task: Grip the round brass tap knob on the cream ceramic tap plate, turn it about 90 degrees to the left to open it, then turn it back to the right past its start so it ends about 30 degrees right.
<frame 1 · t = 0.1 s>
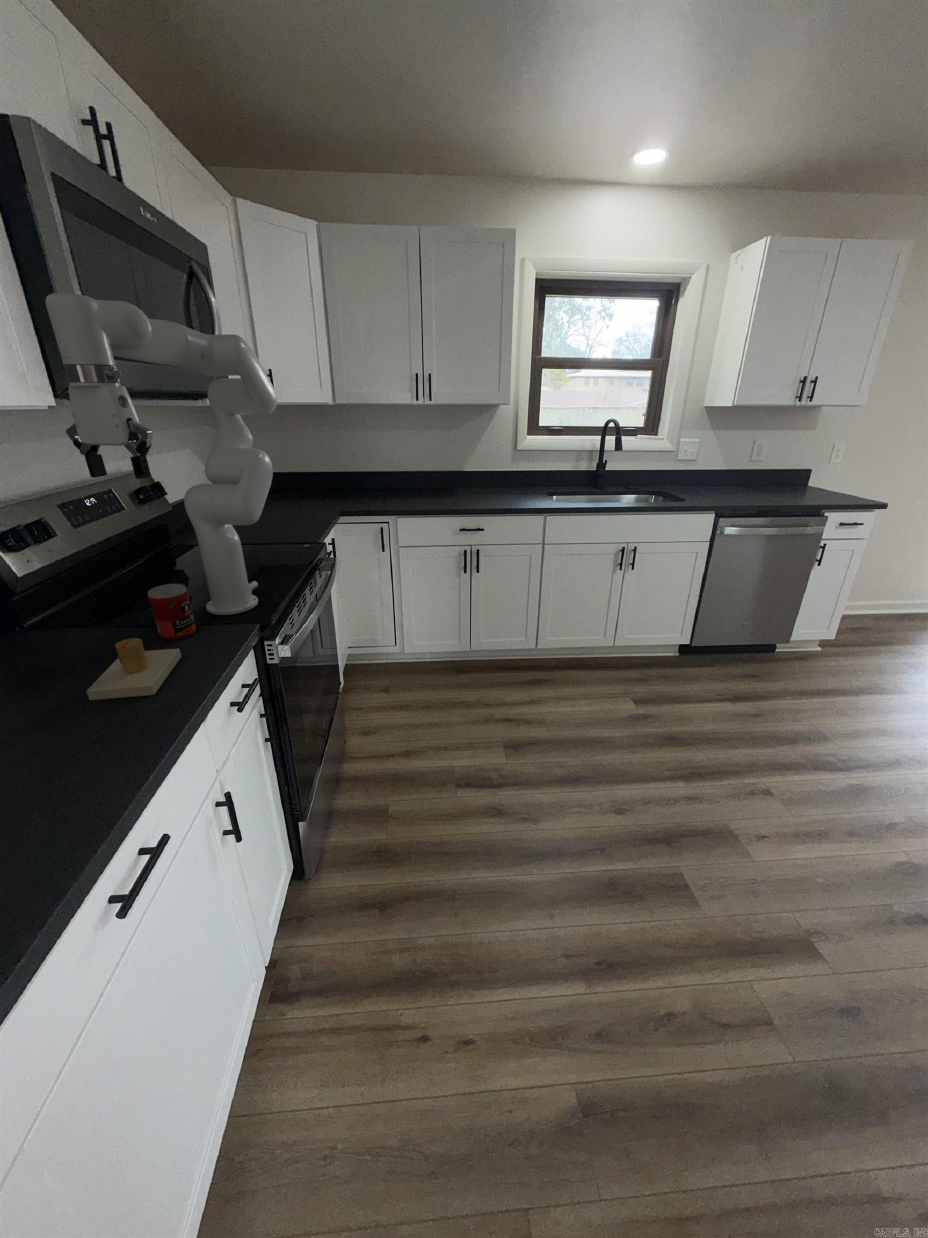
hand: (121, 477, 94), 37 cm above the counter, tool pointing down, fingers open, 9 cm apart
tap handle: (132, 654, 96), point 5 cm above the counter, hinge at 0.0°
canned food: (178, 633, 116), on the counter
tap plate: (139, 676, 98), on the counter
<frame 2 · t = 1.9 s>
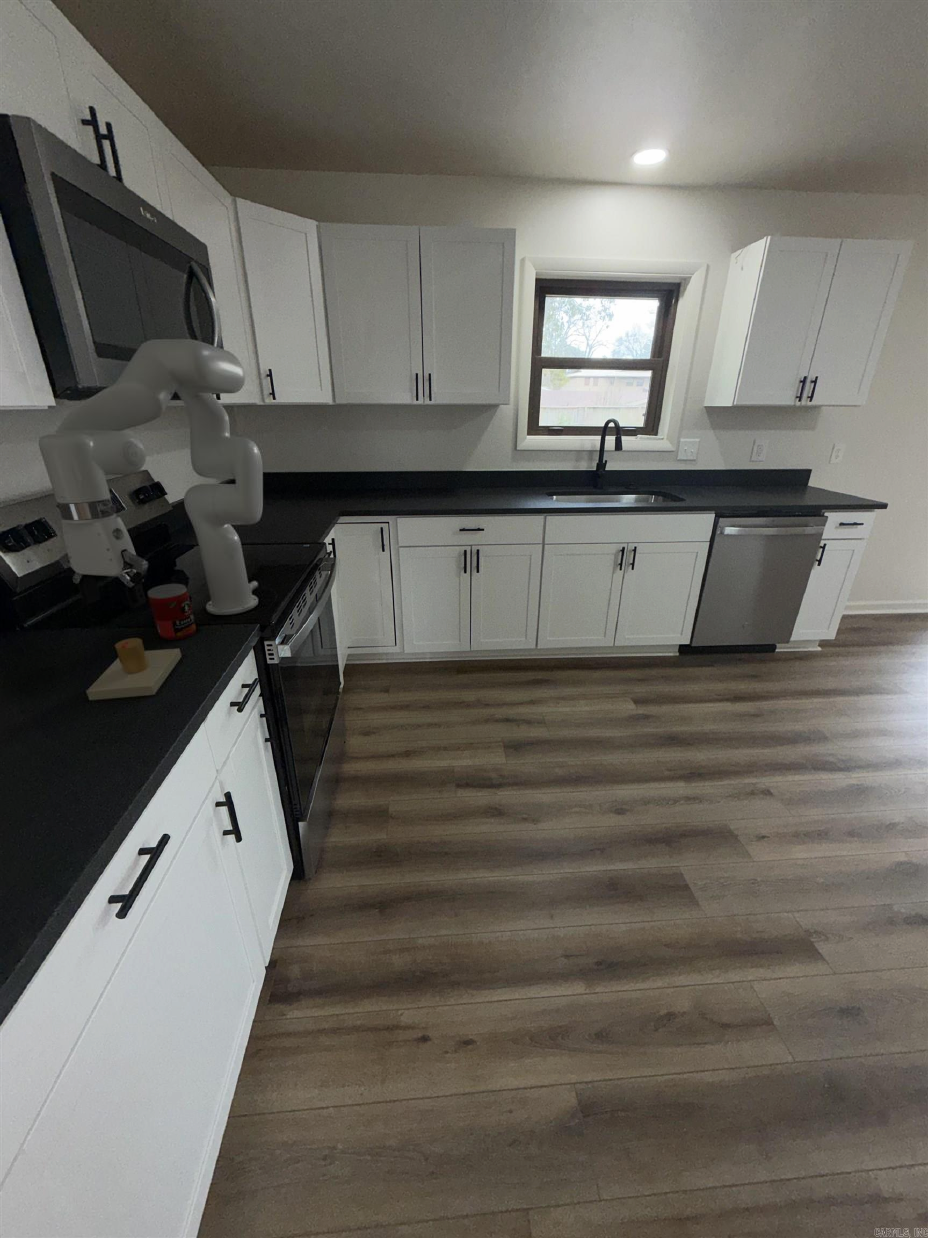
hand: (115, 603, 92), 16 cm above the counter, tool pointing down, fingers open, 9 cm apart
nothing on the counter moved.
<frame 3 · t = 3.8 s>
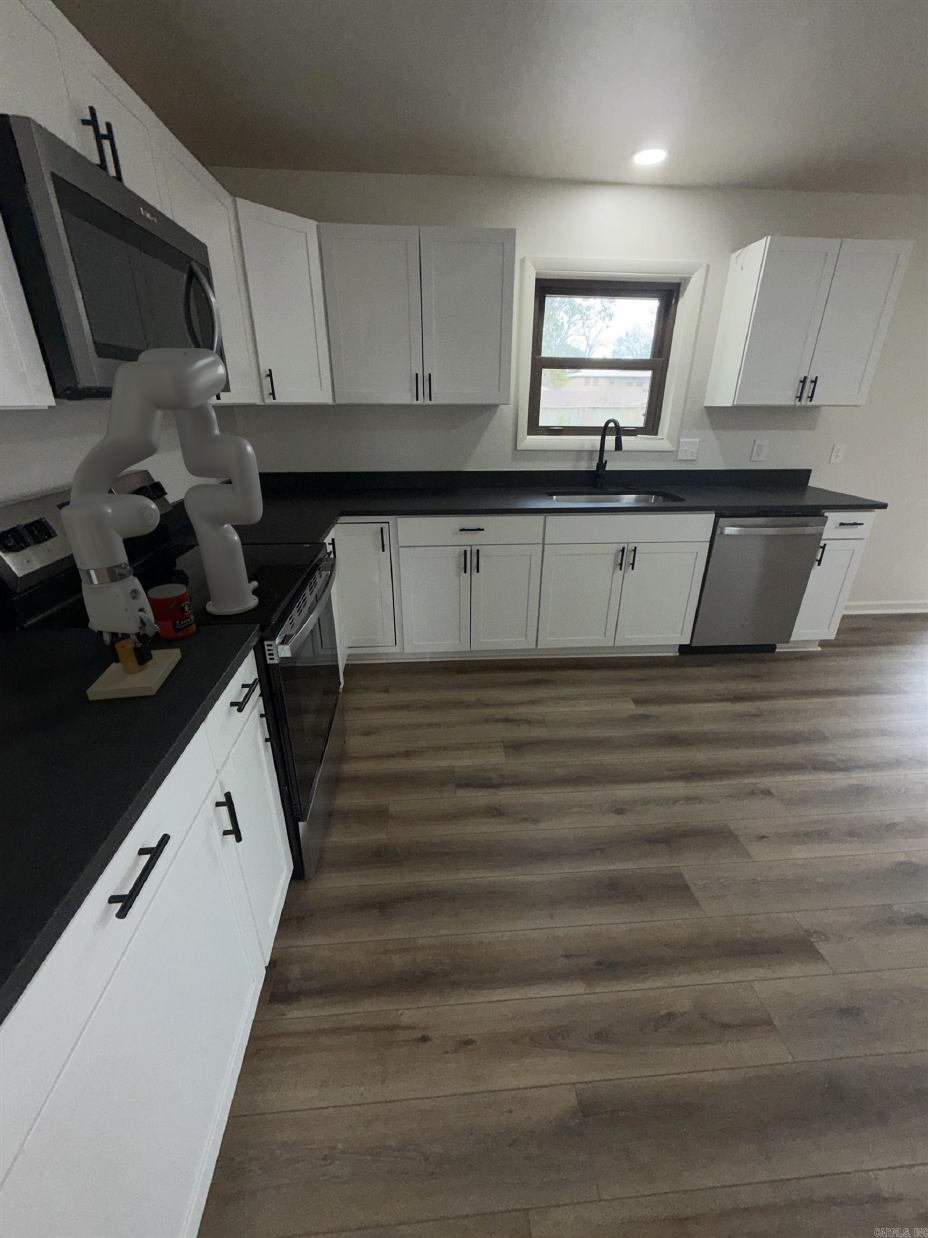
hand: (133, 660, 97), 4 cm above the counter, tool pointing down, fingers closed on tap handle, 4 cm apart
tap handle: (132, 654, 96), point 5 cm above the counter, hinge at 0.0°, touching gripper
everything else where it was.
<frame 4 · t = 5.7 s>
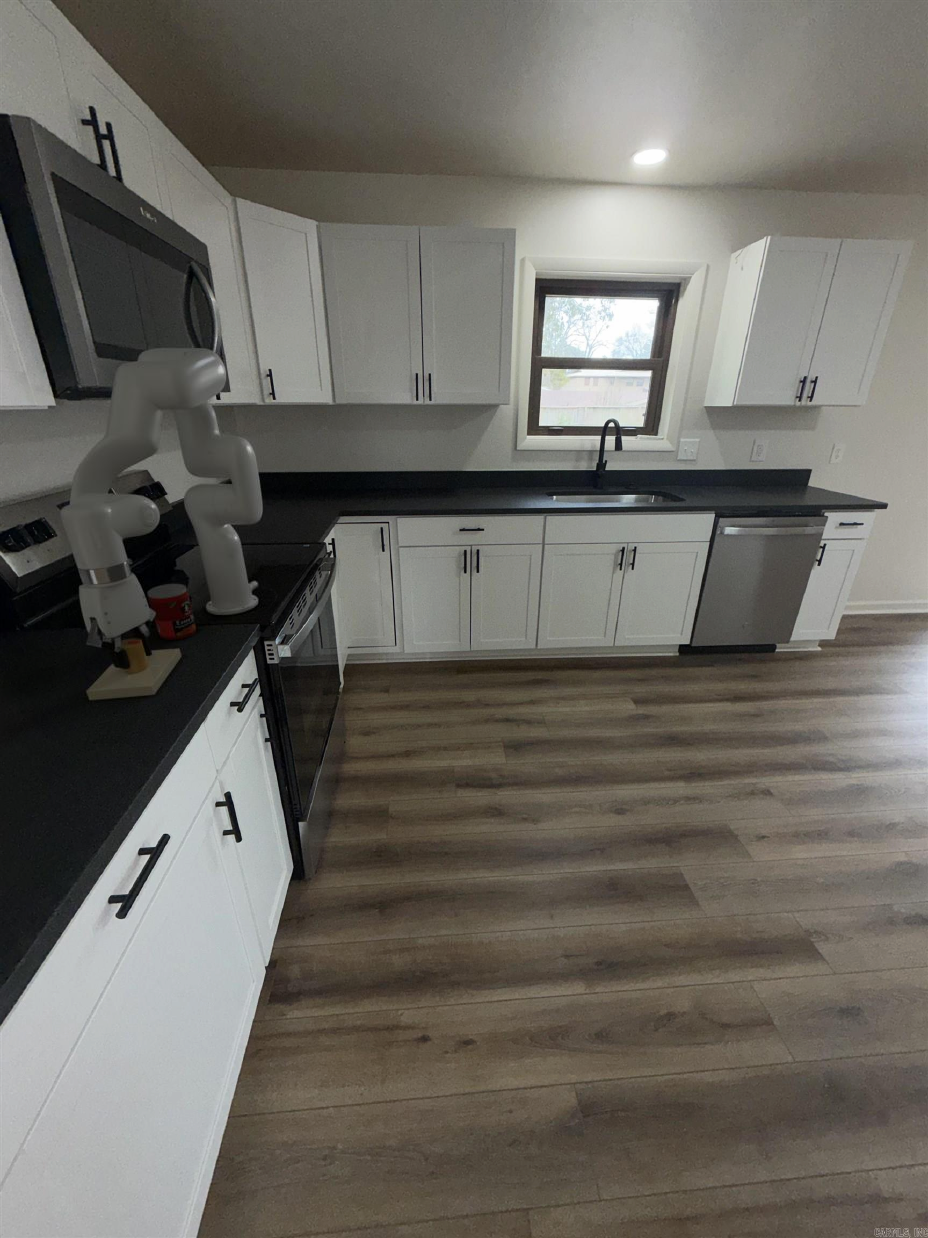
hand: (133, 660, 97), 4 cm above the counter, tool pointing down, fingers closed on tap handle, 4 cm apart
tap handle: (132, 654, 96), point 5 cm above the counter, hinge at 87.4°, touching gripper
everything else where it was.
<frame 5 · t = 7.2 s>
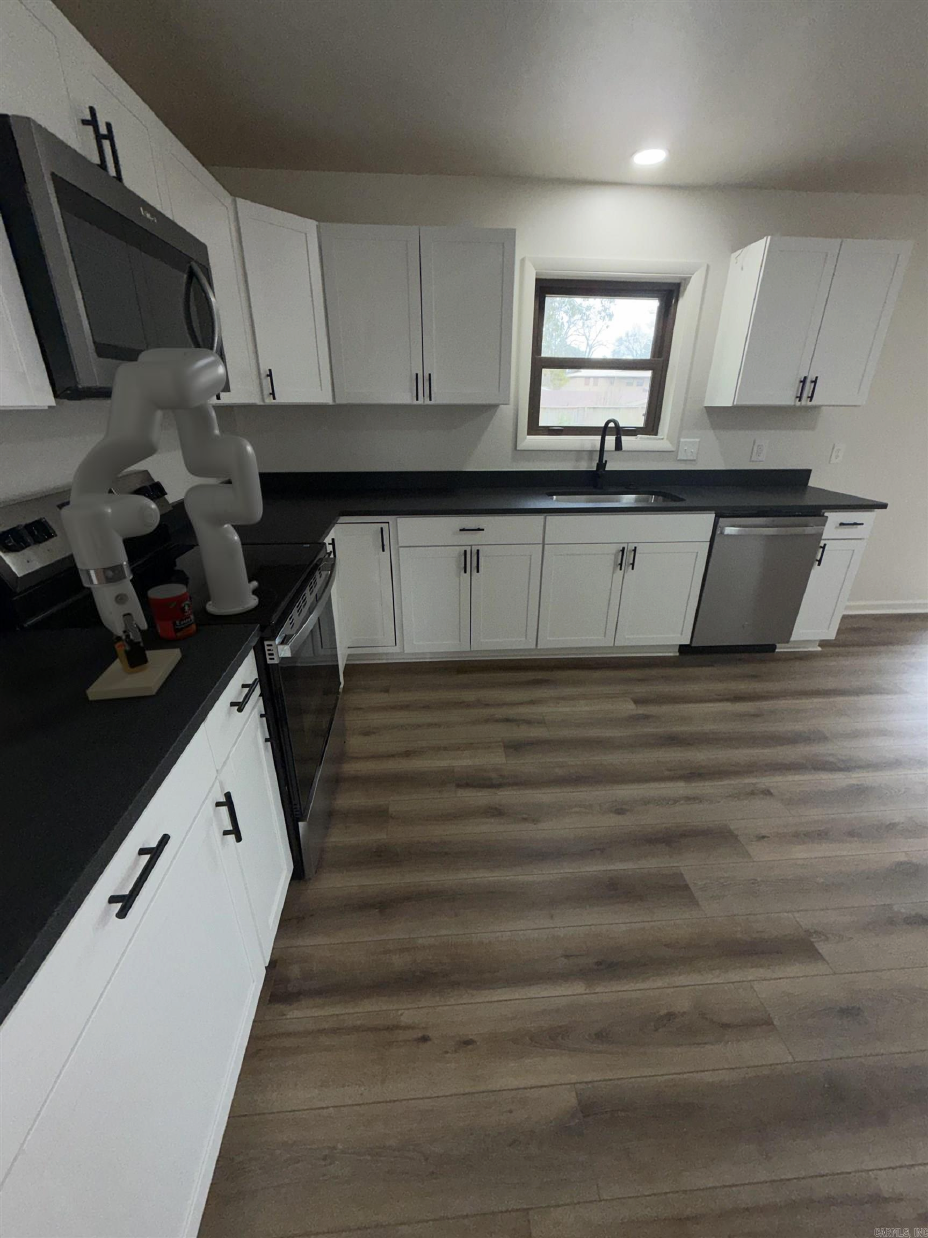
hand: (133, 660, 97), 4 cm above the counter, tool pointing down, fingers closed on tap handle, 4 cm apart
tap handle: (132, 654, 96), point 5 cm above the counter, hinge at -30.1°, touching gripper
everything else where it was.
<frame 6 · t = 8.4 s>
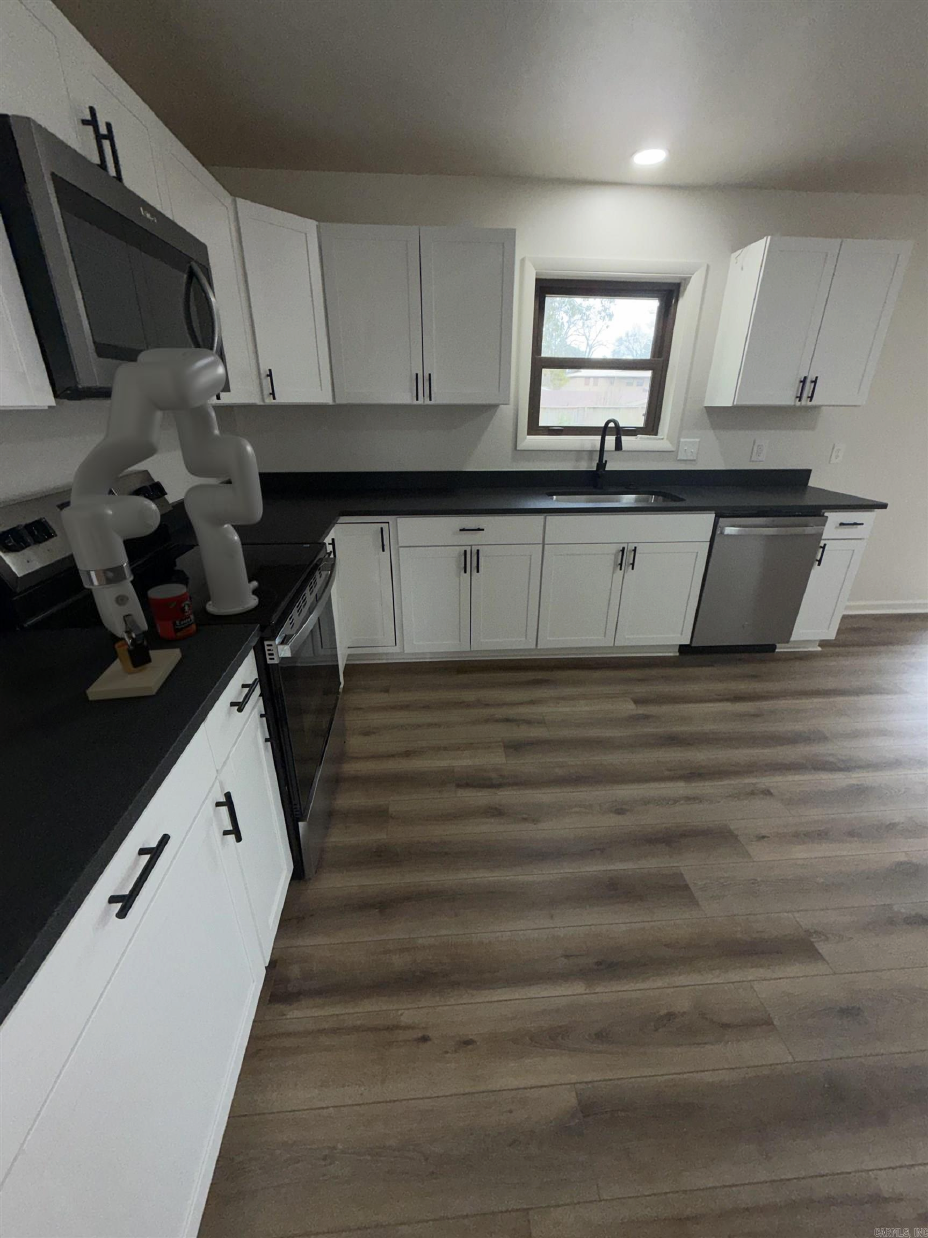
hand: (132, 656, 96), 4 cm above the counter, tool pointing down, fingers open, 9 cm apart
tap handle: (132, 654, 96), point 5 cm above the counter, hinge at -28.8°
everything else where it was.
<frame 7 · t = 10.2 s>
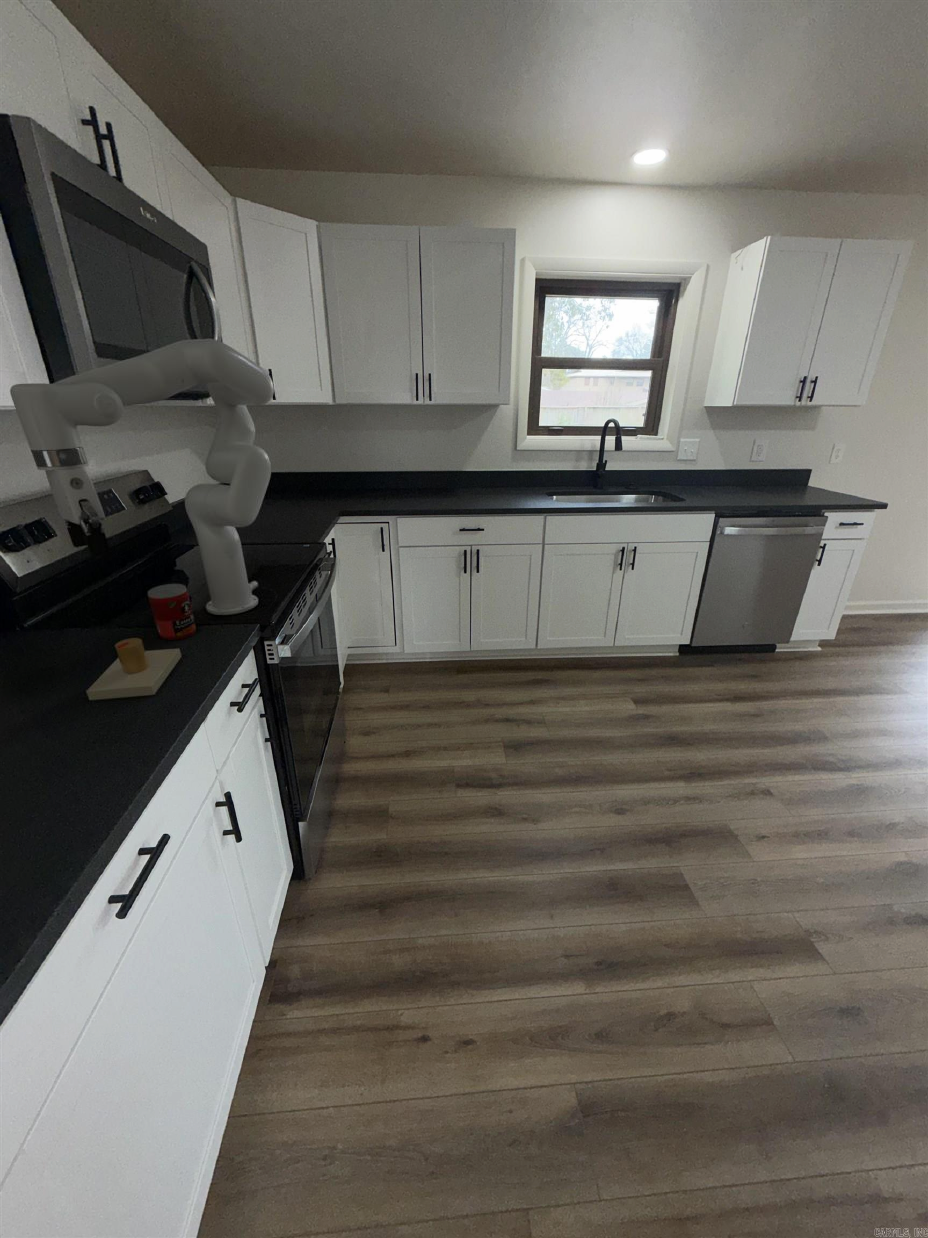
hand: (92, 550, 97), 23 cm above the counter, tool pointing down, fingers open, 9 cm apart
nothing on the counter moved.
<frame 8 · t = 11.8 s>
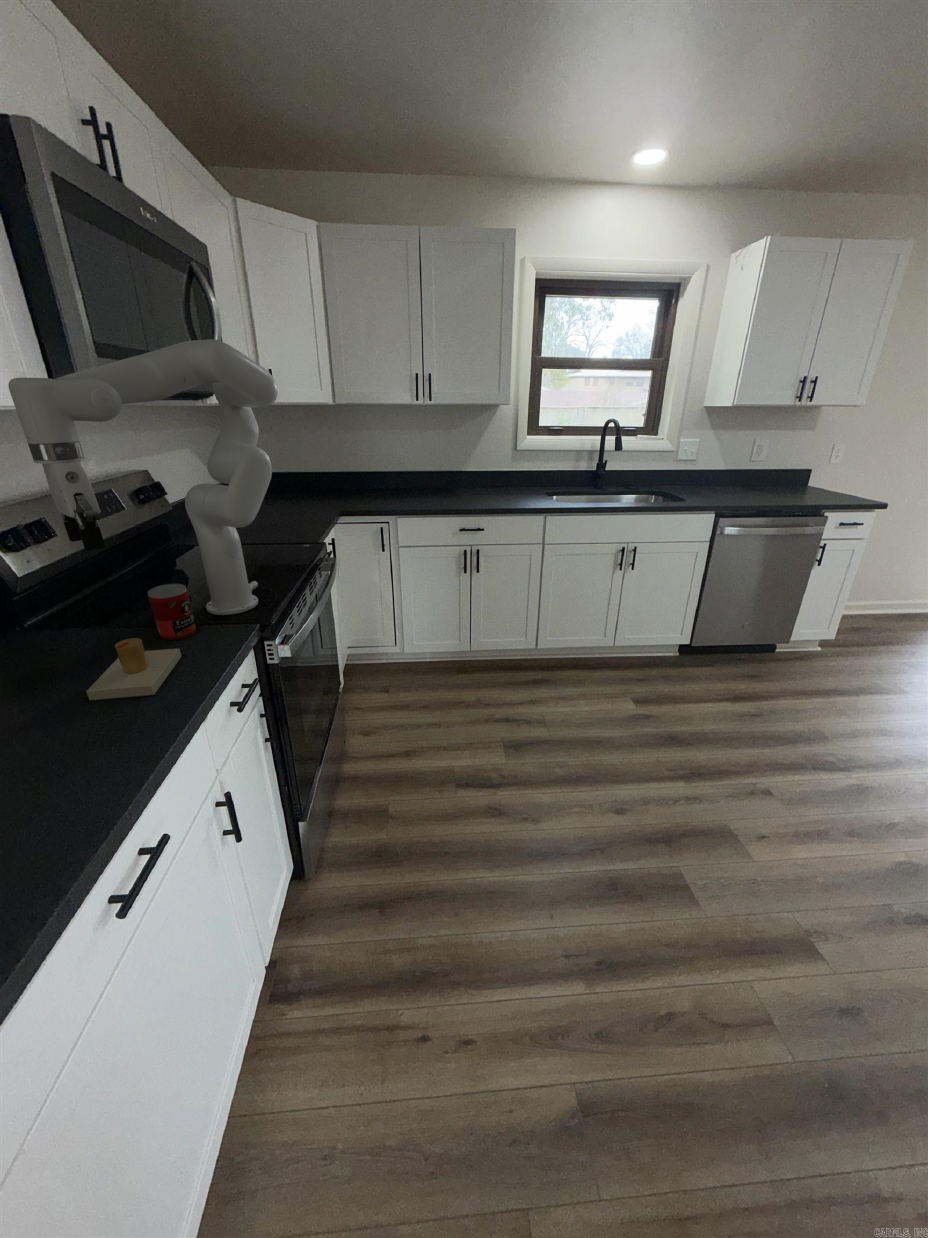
hand: (87, 544, 97), 24 cm above the counter, tool pointing down, fingers open, 9 cm apart
nothing on the counter moved.
at the end: tap handle reached +90° during the clip, -29° at the end; tap handle at -29° (first picture: +0°) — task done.
